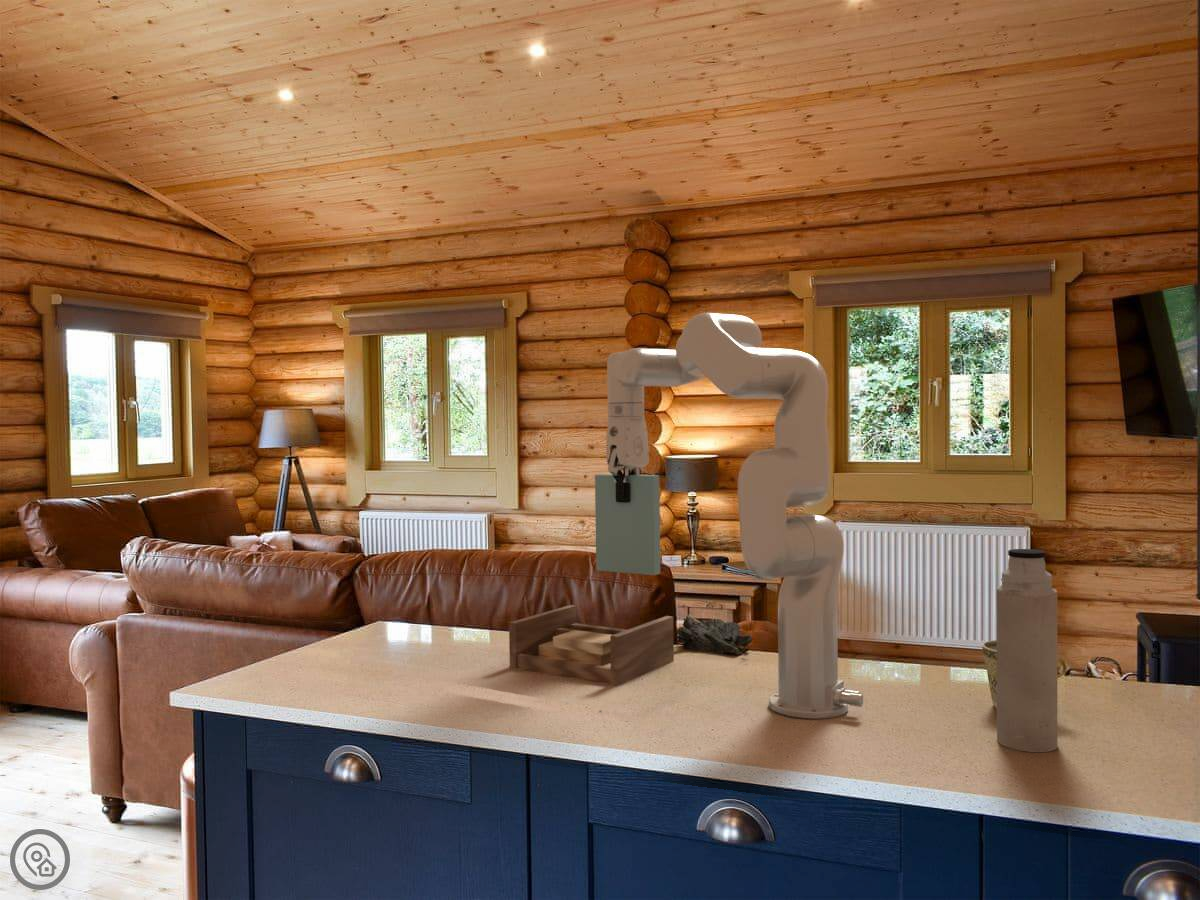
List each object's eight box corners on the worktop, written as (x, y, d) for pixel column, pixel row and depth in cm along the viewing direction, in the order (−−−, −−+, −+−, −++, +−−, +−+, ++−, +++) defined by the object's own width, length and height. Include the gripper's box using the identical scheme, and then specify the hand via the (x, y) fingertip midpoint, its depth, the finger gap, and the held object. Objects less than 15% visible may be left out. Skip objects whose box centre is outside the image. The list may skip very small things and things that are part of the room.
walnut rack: (673, 668, 181) (673, 616, 180) (618, 694, 164) (617, 636, 164) (571, 653, 194) (570, 604, 194) (509, 675, 177) (509, 622, 177)
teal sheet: (660, 573, 192) (659, 475, 192) (654, 575, 190) (653, 475, 190) (602, 568, 200) (601, 474, 200) (596, 570, 198) (595, 474, 197)
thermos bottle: (1007, 730, 142) (1007, 544, 141) (1064, 741, 137) (1064, 548, 136) (988, 744, 136) (988, 550, 136) (1047, 756, 131) (1047, 554, 130)
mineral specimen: (670, 636, 186) (689, 591, 190) (671, 653, 197) (689, 611, 201) (742, 666, 182) (760, 619, 186) (739, 682, 193) (756, 638, 197)
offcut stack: (633, 667, 176) (633, 635, 176) (607, 678, 168) (606, 645, 168) (563, 657, 185) (562, 626, 185) (535, 667, 177) (535, 635, 177)
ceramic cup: (970, 707, 154) (970, 646, 154) (1001, 695, 161) (1000, 636, 160) (1050, 725, 144) (1050, 660, 144) (1079, 712, 151) (1079, 650, 150)
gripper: (620, 411, 186) (622, 505, 186) (661, 412, 199) (662, 499, 200) (589, 412, 190) (590, 504, 190) (630, 413, 203) (631, 498, 204)
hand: (627, 500), depth 195 cm, fingers closed on teal sheet, 2 cm apart
